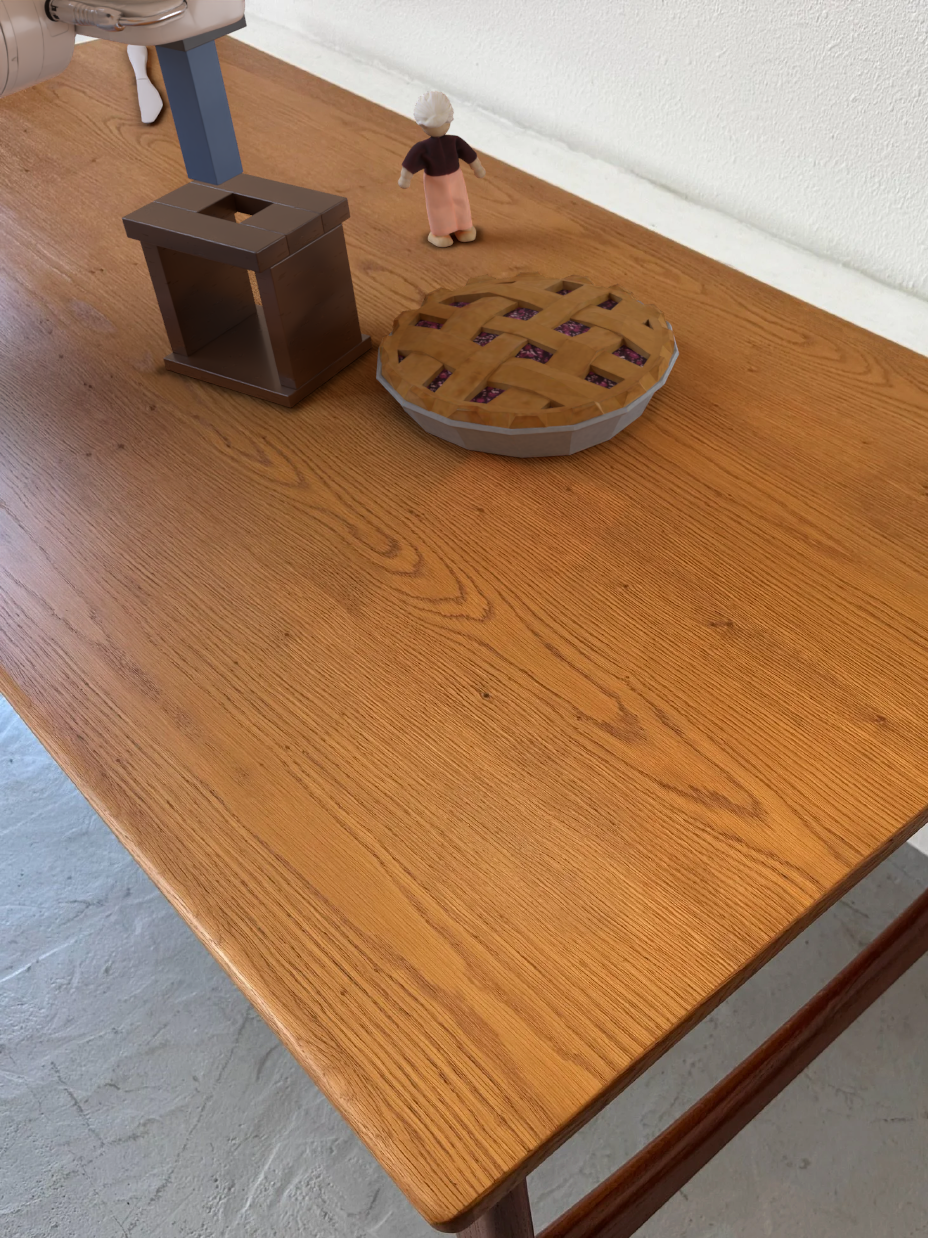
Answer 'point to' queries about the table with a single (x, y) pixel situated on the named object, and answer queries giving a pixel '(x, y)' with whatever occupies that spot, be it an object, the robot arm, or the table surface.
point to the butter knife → (144, 84)
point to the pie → (527, 363)
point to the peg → (201, 105)
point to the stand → (221, 290)
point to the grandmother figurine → (442, 171)
